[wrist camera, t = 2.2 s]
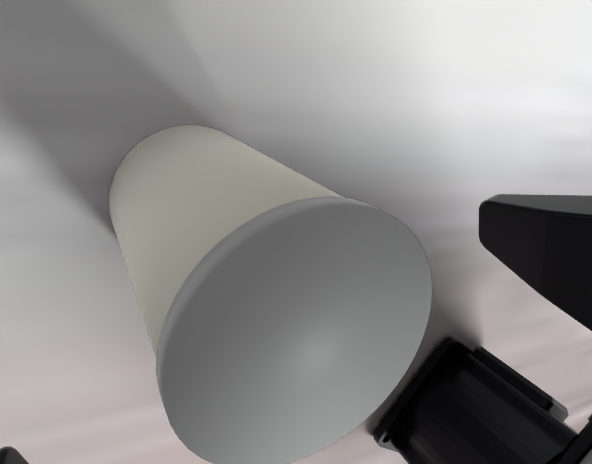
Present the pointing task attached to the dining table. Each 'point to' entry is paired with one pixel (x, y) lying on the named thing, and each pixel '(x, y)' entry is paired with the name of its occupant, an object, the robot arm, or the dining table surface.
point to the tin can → (264, 296)
